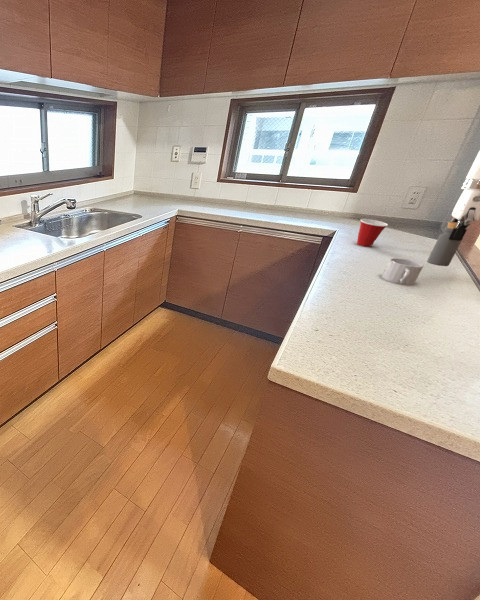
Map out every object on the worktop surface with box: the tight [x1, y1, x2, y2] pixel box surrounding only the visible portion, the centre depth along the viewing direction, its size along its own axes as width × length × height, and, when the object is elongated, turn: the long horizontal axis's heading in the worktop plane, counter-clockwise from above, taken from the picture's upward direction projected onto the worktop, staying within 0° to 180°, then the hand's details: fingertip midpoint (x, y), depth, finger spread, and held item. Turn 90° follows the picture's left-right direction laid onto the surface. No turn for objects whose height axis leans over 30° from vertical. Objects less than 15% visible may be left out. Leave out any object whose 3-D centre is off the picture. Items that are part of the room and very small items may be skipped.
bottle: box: [426, 221, 463, 267], centre depth 117 cm, size 6×6×15 cm
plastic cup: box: [356, 218, 389, 248], centre depth 160 cm, size 11×11×12 cm
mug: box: [381, 257, 424, 286], centre depth 119 cm, size 13×9×7 cm
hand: (452, 237), depth 116 cm, fingers closed on bottle, 5 cm apart
